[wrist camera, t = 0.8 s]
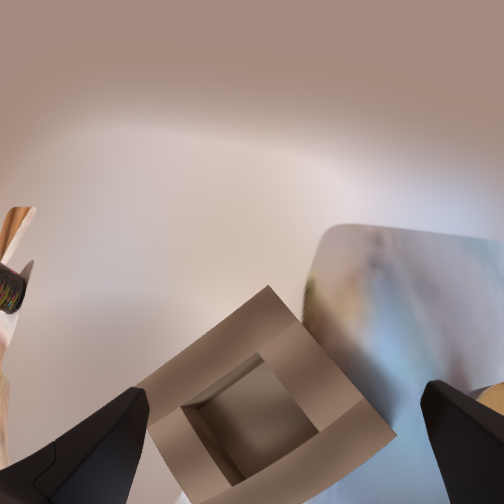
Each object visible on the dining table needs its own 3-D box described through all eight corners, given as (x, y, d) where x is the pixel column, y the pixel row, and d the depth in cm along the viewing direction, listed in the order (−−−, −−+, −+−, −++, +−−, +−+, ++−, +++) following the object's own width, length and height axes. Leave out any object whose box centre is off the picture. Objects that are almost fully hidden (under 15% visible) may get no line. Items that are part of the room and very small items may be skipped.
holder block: (390, 432, 18) (397, 435, 15) (237, 528, 17) (220, 542, 14) (278, 301, 26) (268, 284, 23) (152, 395, 25) (128, 390, 22)
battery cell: (484, 417, 16) (546, 411, 8) (448, 456, 15) (497, 474, 8) (456, 384, 18) (508, 364, 11) (419, 422, 18) (457, 426, 10)
